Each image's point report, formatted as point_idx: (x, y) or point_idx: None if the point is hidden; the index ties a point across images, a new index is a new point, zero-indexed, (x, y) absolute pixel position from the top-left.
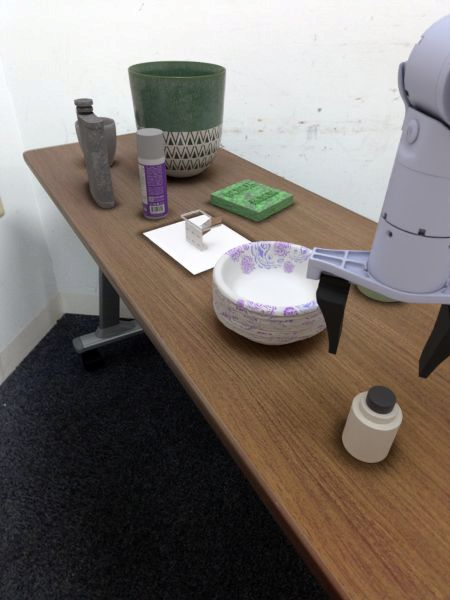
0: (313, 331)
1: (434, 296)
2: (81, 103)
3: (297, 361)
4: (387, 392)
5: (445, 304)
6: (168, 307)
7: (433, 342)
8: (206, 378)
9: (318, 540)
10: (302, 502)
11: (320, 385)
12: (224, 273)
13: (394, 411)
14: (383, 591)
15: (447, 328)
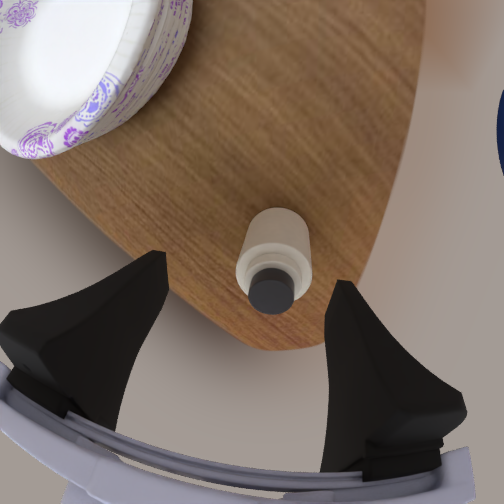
0: (153, 89)
1: None
2: None
3: (164, 107)
4: (280, 291)
5: (363, 435)
6: None
7: (340, 369)
8: (76, 188)
9: (235, 329)
10: (216, 306)
11: (208, 147)
12: None
13: (294, 294)
14: (285, 349)
15: (323, 469)
